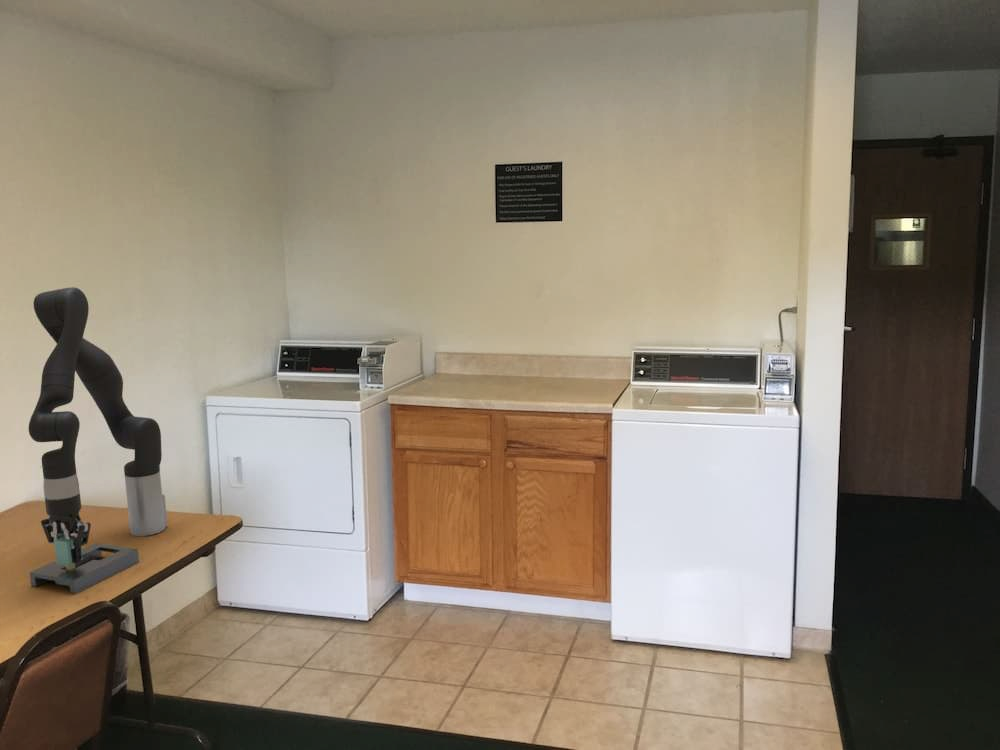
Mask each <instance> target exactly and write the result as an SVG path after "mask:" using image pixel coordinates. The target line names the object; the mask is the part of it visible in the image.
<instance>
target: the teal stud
mask: <svg viewBox="0 0 1000 750" xmlns="http://www.w3.org/2000/svg"><path fill="white" fill-rule="evenodd" d="M74 543H76V538H74ZM53 545H55V546H54V551H55V552H54V553H55V561H56V562H57V564H62V565H66V570H73V569H75V563H73V562H72V555H71V547H70V541H68V540H66V537H65V536H63V537H60V538H59V539H56V540H54V543H53ZM82 549H83V548H82V547H81V553H82ZM81 560H83V558H82V559H81ZM54 582H55V584H56V585H61V586H65V587H66V586H67V587H70V585H69V583H65V582H59V581H54Z"/></svg>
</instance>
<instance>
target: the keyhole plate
mask: <svg viewBox="0 0 1000 750" xmlns="http://www.w3.org/2000/svg"><path fill="white" fill-rule="evenodd" d="M102 552H108V553H112V554H110V555H108V556H107V557H105V558H102V559H99V558H101V557H103V556H102ZM139 557H140V556H139V549H138V548H133V547H128V546H127V547H125V546H120V545H113V544H107V543H106V544H105V543H99V542H95V543H92V544H90V545H88V546H86V547H83V548H82V558H83V560H81V561H79V562H77V563H75V569H73V570H66V565H62V564H57V562H56V560H55V561H54V560H53V561H52V562H50V563H48V564H45V565H43V566H41V567H39V568H36V569H34V570H32V571H30V572H29V578H30V586H31V587H34V588H35V587H39V586H40V585H43V584H45V583H47V582H49V581H54V582H55V581H59V582H65V583H69V585H70V586H69V593H70V594H74V595H76V594H78V593H80V592H82V591H84V590H86V589H88V588H90V587H92V586H95V585H96V584H99V583H100V582H102V581H104V580H106V579H108V578H111V577H112V576H114V575H116V574H118V573H120V572H122V571H124V570H126V569H128V568H130V567H132V566H134V565H136V564H138V563H140V559H139ZM98 559H99V560H98Z"/></svg>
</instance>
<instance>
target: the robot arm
mask: <svg viewBox="0 0 1000 750" xmlns="http://www.w3.org/2000/svg"><path fill="white" fill-rule="evenodd" d="M33 310H34V312H35V316H36V317H37V319H38V320H39V323H40V324H41V325H42V327H43V328H44V329H45V331H46V333H48V335H50V337H51V338H52V339H53V341H54V342H55V343H56V345H55V347H54V348H53V350H52V351H51V353H50V354H49V356H48V357H47V359H46V361H45V363H44V366H43V369H42V374H41V383H40V384H41V385H40V392H39V396H38V400H37V403H36V405H35V408H34V410H33V411H32V414H31V416H30V419H29V422H28V423H29V424H28V433H29V436H30V437H31V439H32V440H33V441H34V442H37V443H49V442H50V443H52V442H61V443H62V445H61V447H60V448H56V449H52V450H49V451H47V452H44V453H42V455H41V468H42V475H43V496H44V505H45V512H46V515H47V516H49V517H46V518H44V519H42V520H41V521H40V523H41V524H40V525H41V526H42V529H43V531H44V534H45V537H46V539H47V542H48V543H49V544H53V545H54V540H56V539H59V538H60V537H63V536H65V537H66V540H68V541H70V547H71V555H72V562H73V563H77V562H79V561H81V559H82V553H81V548H82V546H85V545H87V544H88V541H89V536H90V532H91V531H90V530H91V522H89V521H87V522H83V521H82V519H81V517H80V514H79V513H80V512H81V510H82V499H81V490H80V483H79V479H78V473H77V466H76V446H77V441H78V437H79V432H80V425H81V424H80V418H79V417H78V415H76V413H74V412H73V411H67V410H65V411H54V410H55V409H57V408H59V407H62V406H65V405H68V404H71V402H72V401H73V400H74V391H75V390H74V389H75V380H76V379H75V376H76V374H77V376H78V377H79V379H80V380H81V383H82V384H83V386H84V387H85V389H86V390H87V392H88V393H89V395H90V396H91V398H92V399H93V401H94V403H95V404H96V406H97V407H98V409H99V411H100V413H101V414H102V416H103V417H104V418H103V419H104V420H105V422H106V424H107V427H108V429H109V431H110V434H111V435H112V437H113V439H114V440H115V442H116V443H117V445H118V446H119V447H122V448H124V449H125V450H126V449H127V450H133V451H134V459H133V460H131V461H128V462H127V463H126V464H125V465H124V466H123V471H124V482H125V483H124V484H125V493H126V501H127V504H126V505H127V512H128V513H127V514H128V522H129V524H128V525H129V533H130V534H131V536H135V537H147V536H152V535H156V533H157V534H159V533H162V532H163V531H165V529H166V528H167V527H168V526H169V525H168V518H167V506H166V496H165V494H163V490H162V480H161V478H162V477H161V467H160V466H161V462H162V455H163V453H162V432H161V428H160V425H159V423H158V422H157V421H156V420H155V419H154V418H150V417H143V416H141V417H140V416H134V414H132V412H131V411H130V410H129V408H128V406H127V405H126V403H125V401H124V397H123V391H124V379H123V376H122V373H121V372H120V370H119V368H118V366H117V364H116V363H115V361H114V360H113V358H112V357H111V356H110V354H108V353H107V352H106V351H105V350H104V349H101V348H100V347H98V346H97V345H95V344H94V343H92V342H91V341H89V340H87V339H86V338H84V335H85V334H84V333H85V330H86V328H87V327H86V326H87V322H88V318H89V301H88V298H87V295H86V294H85V293H84V292H83V291H82V290H81V289H80V288H77V287H75V286H74V287H73V286H72V287H63V288H60V289H59V288H58V289H54V290H48V291H44V292H41V293H38V294H37V295H36V296H35V297H34V299H33ZM166 526H167V527H166ZM161 531H162V532H161ZM74 538H76V543H74ZM54 547H55V545H54Z"/></svg>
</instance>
